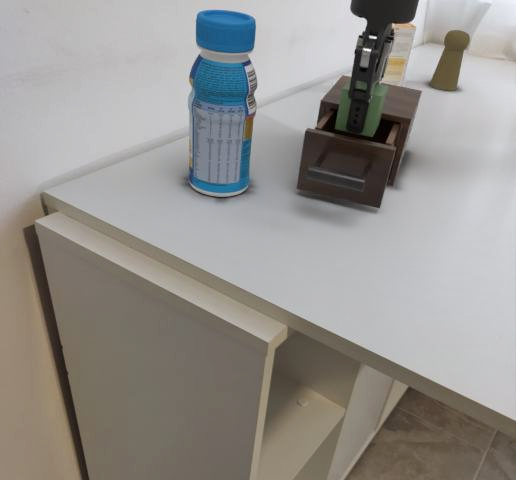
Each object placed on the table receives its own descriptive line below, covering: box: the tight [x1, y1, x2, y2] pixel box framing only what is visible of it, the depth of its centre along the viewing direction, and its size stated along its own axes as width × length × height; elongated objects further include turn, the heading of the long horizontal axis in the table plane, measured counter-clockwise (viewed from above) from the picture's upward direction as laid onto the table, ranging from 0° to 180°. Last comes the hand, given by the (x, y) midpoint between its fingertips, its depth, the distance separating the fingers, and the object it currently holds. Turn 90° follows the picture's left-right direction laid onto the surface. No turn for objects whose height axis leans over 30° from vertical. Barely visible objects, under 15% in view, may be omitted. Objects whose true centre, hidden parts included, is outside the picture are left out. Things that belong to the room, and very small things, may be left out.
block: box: [335, 79, 388, 137], centre depth 69 cm, size 5×5×5 cm
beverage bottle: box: [187, 9, 258, 198], centre depth 66 cm, size 8×8×20 cm
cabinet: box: [316, 74, 423, 187], centre depth 81 cm, size 15×13×10 cm
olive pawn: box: [429, 29, 471, 92], centre depth 117 cm, size 6×6×11 cm
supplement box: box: [380, 22, 417, 87], centre depth 107 cm, size 8×5×13 cm, turn 100°
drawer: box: [296, 108, 401, 209], centre depth 71 cm, size 19×11×8 cm, turn 161°
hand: (358, 124), depth 70 cm, fingers closed on block, 5 cm apart
